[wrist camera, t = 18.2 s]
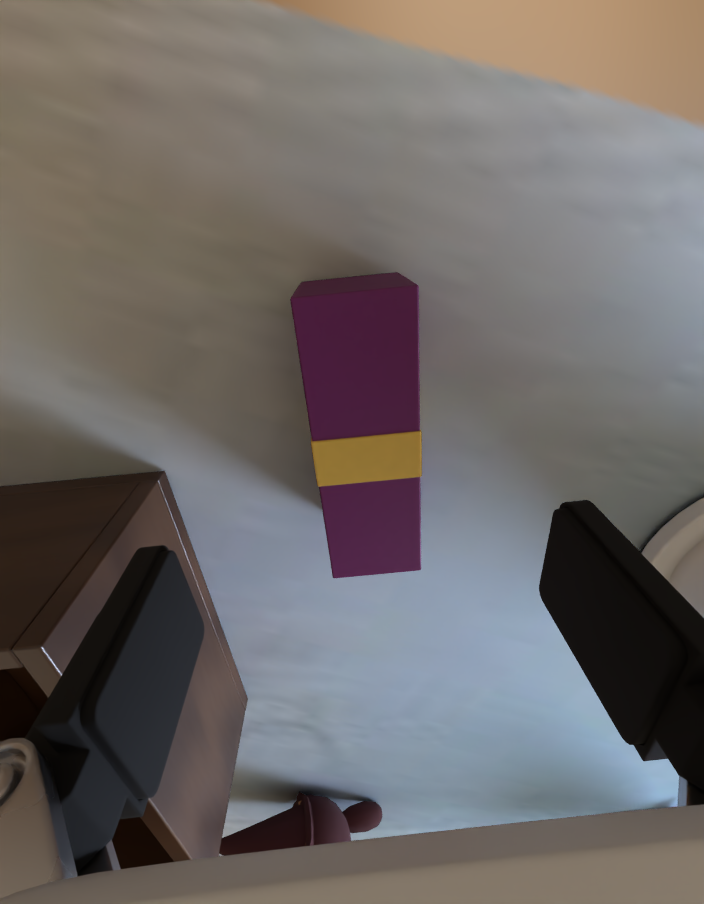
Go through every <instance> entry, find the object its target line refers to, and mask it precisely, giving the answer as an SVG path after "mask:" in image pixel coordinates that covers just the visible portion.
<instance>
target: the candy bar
mask: <svg viewBox="0 0 704 904" xmlns="http://www.w3.org/2000/svg"><path fill="white" fill-rule="evenodd" d="M290 301H291V307H292V314H293V320H294V327H295V333H296V340H297V346H298V353H299V359H300V366H301V372H302V379H303V385H304V392H305V398H306V405H307V412H308V418H309V425H310V431H311V448H312V454H313V460H314V467H315V473H316V480H317V485H318V486H319V490H320V496H321V503H322V509H323V516H324V522H325V529H326V535H327V542H328V548H329V555H330V561H331V568H332V574H333V578H342V577H353V576H363V575H374V574H385V573H395V572H406V571H416V570H421V488H420V477H421V476H422V432H421V430H420V379H419V287H418V285H417V284H415V283H414V282H412V281H410V280H409V279H407V278H406V277H404V276H403V275H401V274H400V273H398V272H395V273H385V274H375V275H365V276H355V277H345V278H335V279H326V280H316V281H306V282H301V283H300V285H299V286H298V288H297V289H296V291H295V292H294V294H293V295H292V297H291V299H290Z"/></svg>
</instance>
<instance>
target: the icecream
mask: <svg viewBox="0 0 704 904" xmlns="http://www.w3.org/2000/svg"><path fill="white" fill-rule="evenodd" d="M296 798H297V800H296V802H295V803H294V805H293V807H292V808H291V809H289V810H286V811H284V812H282V813H280V814H277V815H275V816H273V817H271V818H268V819H266V820H264V821H261V822H259V823H257V824H255V825H252V826H250V827H248V828H246V829H243V830H241V831H238V832H236V833H234V834H231V835H229V836H226V837H224V838H222V839H221V845H220V850H219V853H220V854H222V855H224V856H227V855H235V854H244V853H252V852H261V851H269V850H278V849H287V848H295V847H304V846H312V845H321V844H329V843H338V842H347V841H351V837H350V833H358V832H366V831H369V830H371V829H373V828H375V827H377V826H378V825H379V823H380V821H381V819H382V809H381V807H380V805H378V804H377V803H376V802H373V801H362V802H360V803H357V804H355V805H352V806H350V807H348V808H347V809H346V810H344V811H343V812H342V811H341V810H340V809H339V807H338V806H337V804H336V803H334V802H333V801H331V800H330V799H328V798H327V797H322V796H315V795H312V794H309V795H305V794H303V793H301V792H299V793H298V795H297V797H296Z"/></svg>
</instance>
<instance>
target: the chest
mask: <svg viewBox="0 0 704 904" xmlns="http://www.w3.org/2000/svg"><path fill="white" fill-rule="evenodd" d="M159 545H165V546H166V547H167V548H168V549H169V550H173V551H175V553H176V555H177V557H178V560H179V562H180V565H181V567H182V570H183V572H184V575H185V577H186V580H187V582H188V585H189V587H190V590H191V592H192V595H193V597H194V600H195V602H196V604H197V607H198V609H199V612H200V614H201V617H202V619H203V622H204V638H203V641H202V645H201V648H200V651H199V655H198V658H197V661H196V665H195V668H194V671H193V675H192V678H191V681H190V685H189V688H188V691H187V695H186V698H185V702H184V705H183V708H182V712H181V715H180V718H179V722H178V725H177V728H176V732H175V735H174V738H173V742H172V745H171V749H170V752H169V755H168V759H167V762H166V765H165V769H164V772H163V775H162V779H161V782H160V785H159V788H158V791H157V792H156V794H155V795H154V797H152V798H148V802H147V805H146V808H145V811H144V814H143V817H135V818H126V819H119V822H118V825H117V828H116V831H115V833H114V836H113V839H112V843H113V846H114V849H115V852H116V855H117V859H118V862H119V865H120V868H121V869H127V868H134V867H141V866H148V865H156V864H163V863H170V862H177V861H184V860H193V859H201V858H210V857H218V856H219V850H220V845H221V839H222V834H223V829H224V823H225V818H226V812H227V807H228V802H229V796H230V791H231V785H232V780H233V775H234V769H235V764H236V758H237V753H238V748H239V742H240V737H241V731H242V726H243V721H244V715H245V710H246V705H247V700H248V698H247V695H246V693H245V690H244V687H243V685H242V682H241V679H240V676H239V674H238V671H237V668H236V665H235V663H234V660H233V657H232V654H231V652H230V649H229V646H228V643H227V641H226V638H225V635H224V632H223V630H222V627H221V624H220V621H219V619H218V616H217V613H216V611H215V608H214V605H213V602H212V600H211V597H210V594H209V591H208V589H207V586H206V583H205V580H204V578H203V575H202V572H201V569H200V567H199V564H198V561H197V558H196V556H195V553H194V550H193V547H192V545H191V542H190V539H189V536H188V534H187V531H186V528H185V526H184V523H183V520H182V517H181V515H180V512H179V509H178V506H177V504H176V501H175V498H174V495H173V493H172V490H171V487H170V484H169V482H168V479H167V476H166V473H165V471H157V472H147V473H137V474H127V475H116V476H106V477H96V478H85V479H75V480H65V481H54V482H44V483H34V484H23V485H13V486H3V487H0V742H1V741H4V740H7V739H11V738H24V739H25V737H26V735H27V733H28V732H29V730H30V728H31V727H32V725H33V723H34V722H35V720H36V718H37V716H38V715H39V713H40V711H41V710H42V708H43V706H44V705H45V703H46V701H47V700H48V698H49V696H50V694H51V693H52V691H53V689H54V688H55V686H56V684H57V683H58V681H59V679H60V677H61V676H62V674H63V672H64V671H65V669H66V667H67V666H68V664H69V662H70V660H71V659H72V657H73V655H74V654H75V652H76V650H77V649H78V647H79V645H80V644H81V642H82V640H83V638H84V637H85V635H86V633H87V632H88V630H89V628H90V627H91V625H92V623H93V621H94V620H95V618H96V617H97V615H98V614H99V613H100V611H101V610H102V608H103V606H104V605H105V603H106V601H107V600H108V598H109V596H110V595H111V593H112V591H113V589H114V588H115V586H116V584H117V583H118V581H119V579H120V577H121V576H122V574H123V572H124V571H125V569H126V567H127V566H128V564H129V562H130V560H131V559H132V557H133V555H134V554H135V552H136V551H137V549H139V548H141V547H150V546H159Z"/></svg>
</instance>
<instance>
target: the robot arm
mask: <svg viewBox="0 0 704 904" xmlns="http://www.w3.org/2000/svg"><path fill="white" fill-rule="evenodd" d="M539 591H540V596H541V599H542V601H543V603H544V604H545V606H546V608H547V610H548V611H549V613H550V615H551V616H552V618H553V620H554V622H555V623H556V625H557V627H558V628H559V630H560V632H561V634H562V635H563V637H564V639H565V641H566V642H567V644H568V646H569V647H570V649H571V651H572V653H573V654H574V656H575V658H576V659H577V661H578V663H579V665H580V666H581V668H582V670H583V672H584V673H585V675H586V677H587V678H588V680H589V682H590V684H591V685H592V687H593V689H594V690H595V692H596V694H597V696H598V697H599V699H600V701H601V703H602V704H603V706H604V708H605V709H606V711H607V713H608V715H609V716H610V718H611V720H612V722H613V723H614V725H615V727H616V728H617V730H618V732H619V734H620V735H621V737H622V738H623V739H624V740H625V742H626V743H628V744H629V745H634V746H635V748H636V750H637V752H638V753H639V755H640V757H641V758H642V760H643V761H650V760H659V759H669V761H670V762H671V764H672V765H673V767H674V769H675V770H676V772H677V773H678V775H679V788H678V806H677V807H669V808H658V809H646V810H634V811H623V812H614V813H604V814H595V815H585V816H576V817H566V818H557V819H548V820H538V821H529V822H519V823H510V824H500V825H491V826H482V827H473V828H464V829H455V830H446V831H437V832H428V833H419V834H410V835H401V836H392V837H383V838H374V839H365V840H356V841H347V842H338V843H329V844H321V845H312V846H304V847H295V848H287V849H278V850H269V851H261V852H252V853H244V854H235V855H227V856H218V857H210V858H201V859H193V860H184V861H177V862H170V863H163V864H156V865H148V866H141V867H134V868H127V869H121V868H120V865H119V862H118V859H117V855H116V852H115V849H114V846H113V843H112V839H113V836H114V833H115V831H116V828H117V825H118V822H119V819H126V818H135V817H143V814H144V811H145V808H146V805H147V802H148V798H152V797H154V795H155V794H156V792H157V791H158V788H159V785H160V782H161V779H162V775H163V772H164V769H165V765H166V762H167V759H168V755H169V752H170V749H171V745H172V742H173V738H174V735H175V732H176V728H177V725H178V722H179V718H180V715H181V712H182V708H183V705H184V702H185V698H186V695H187V691H188V688H189V685H190V681H191V678H192V675H193V671H194V668H195V665H196V661H197V658H198V655H199V651H200V648H201V645H202V641H203V638H204V622H203V619H202V617H201V614H200V612H199V609H198V607H197V604H196V602H195V600H194V597H193V595H192V592H191V590H190V587H189V585H188V582H187V580H186V577H185V575H184V572H183V570H182V567H181V565H180V562H179V560H178V557H177V555H176V553H175V551H173V550H169V549H168V548H167V547H166V546H165V545H159V546H150V547H141V548H139V549H137V551H136V552H135V554H134V555H133V557H132V559H131V560H130V562H129V564H128V566H127V567H126V569H125V571H124V572H123V574H122V576H121V577H120V579H119V581H118V583H117V584H116V586H115V588H114V589H113V591H112V593H111V595H110V596H109V598H108V600H107V601H106V603H105V605H104V606H103V608H102V610H101V611H100V613H99V614H98V615H97V617H96V618H95V620H94V621H93V623H92V625H91V627H90V628H89V630H88V632H87V633H86V635H85V637H84V638H83V640H82V642H81V644H80V645H79V647H78V649H77V650H76V652H75V654H74V655H73V657H72V659H71V660H70V662H69V664H68V666H67V667H66V669H65V671H64V672H63V674H62V676H61V677H60V679H59V681H58V683H57V684H56V686H55V688H54V689H53V691H52V693H51V694H50V696H49V698H48V700H47V701H46V703H45V705H44V706H43V708H42V710H41V711H40V713H39V715H38V716H37V718H36V720H35V722H34V723H33V725H32V727H31V728H30V730H29V732H28V733H27V735H26V737H25V739H24V738H11V739H7V740H4V741H1V742H0V904H704V498H702V499H700V500H698V501H696V502H695V503H693V504H692V505H690V506H689V507H687V508H686V509H684V510H683V511H681V512H680V513H678V514H677V515H676V516H675V517H674V518H672V519H671V520H670V521H669V522H668V523H667V524H665V525H664V526H663V527H662V528H661V529H660V530H659V531H658V532H657V533H656V534H655V536H654V537H653V538H652V539H651V540H650V541H649V542H648V544H647V545H646V547H645V548H644V550H643V551H642V553H640V552H639V551H638V549H637V548H636V547H635V546H634V545H633V544H632V543H631V542H630V541H629V540H628V539H627V538H626V537H625V536H624V535H623V534H622V533H621V532H620V531H619V530H618V529H617V528H616V527H615V526H614V525H613V524H612V523H611V522H610V521H609V520H608V519H607V517H606V516H605V515H604V514H603V513H602V512H601V511H600V510H599V509H598V508H597V507H596V506H595V505H594V504H593V503H592V502H590V501H588V500H582V501H573V502H564V503H562V504H561V505H560V508H559V509H556V510H555V511H554V513H553V517H552V522H551V528H550V533H549V538H548V543H547V548H546V553H545V559H544V564H543V569H542V574H541V579H540V584H539Z"/></svg>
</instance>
